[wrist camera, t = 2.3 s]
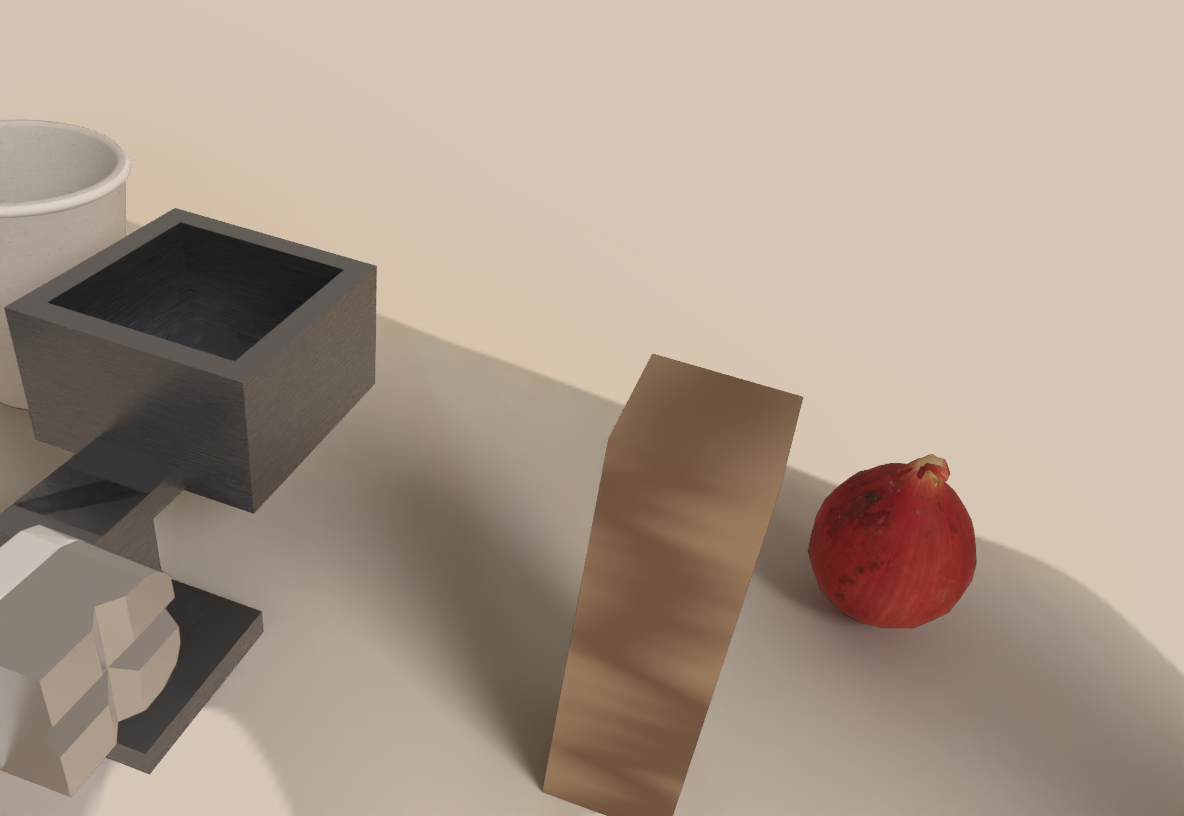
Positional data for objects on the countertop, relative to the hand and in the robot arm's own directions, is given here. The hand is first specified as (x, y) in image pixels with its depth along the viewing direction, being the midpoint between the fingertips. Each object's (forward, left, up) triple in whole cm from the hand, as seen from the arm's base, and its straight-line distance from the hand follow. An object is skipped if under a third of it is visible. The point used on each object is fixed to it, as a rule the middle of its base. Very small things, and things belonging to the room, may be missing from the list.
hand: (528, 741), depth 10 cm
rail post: (0, -14, -19) cm, 24 cm away
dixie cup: (+29, -23, -19) cm, 42 cm away
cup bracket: (+17, -15, -19) cm, 29 cm away
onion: (-7, -24, -19) cm, 31 cm away
